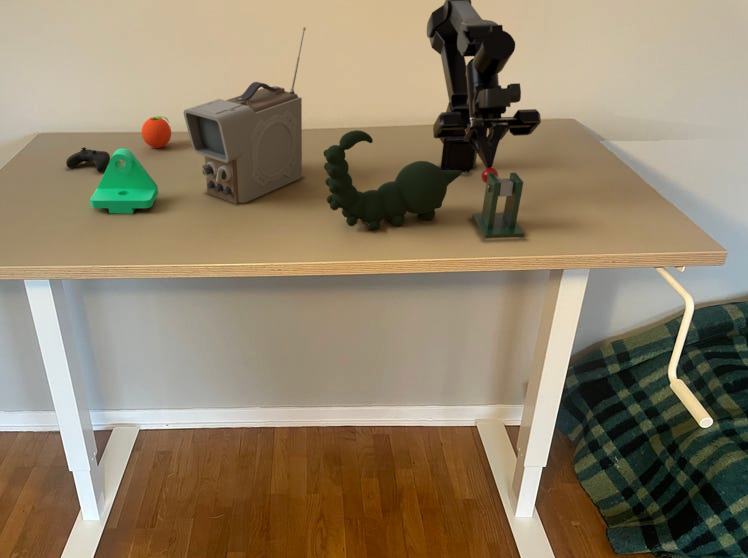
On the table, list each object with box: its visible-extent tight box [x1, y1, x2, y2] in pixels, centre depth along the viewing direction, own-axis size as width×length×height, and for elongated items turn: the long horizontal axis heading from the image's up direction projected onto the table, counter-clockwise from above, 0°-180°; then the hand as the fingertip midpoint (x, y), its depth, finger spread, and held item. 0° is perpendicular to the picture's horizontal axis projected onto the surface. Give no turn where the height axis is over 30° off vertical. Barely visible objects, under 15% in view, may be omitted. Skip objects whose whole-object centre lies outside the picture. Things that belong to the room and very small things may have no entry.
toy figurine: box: [322, 129, 463, 231], centre depth 132 cm, size 9×19×25 cm
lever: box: [481, 166, 513, 198], centre depth 133 cm, size 11×3×3 cm, turn 2°
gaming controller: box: [65, 146, 111, 173], centre depth 164 cm, size 10×5×6 cm
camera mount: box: [89, 147, 159, 214], centre depth 143 cm, size 12×8×10 cm, turn 86°
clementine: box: [141, 115, 172, 149], centre depth 172 cm, size 8×7×7 cm
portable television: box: [183, 26, 307, 205], centre depth 144 cm, size 12×24×30 cm, turn 137°
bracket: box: [471, 172, 525, 239], centre depth 131 cm, size 9×7×10 cm
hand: (489, 167), depth 136 cm, fingers closed, pressing on lever
